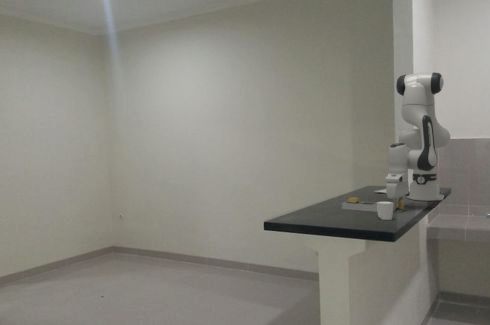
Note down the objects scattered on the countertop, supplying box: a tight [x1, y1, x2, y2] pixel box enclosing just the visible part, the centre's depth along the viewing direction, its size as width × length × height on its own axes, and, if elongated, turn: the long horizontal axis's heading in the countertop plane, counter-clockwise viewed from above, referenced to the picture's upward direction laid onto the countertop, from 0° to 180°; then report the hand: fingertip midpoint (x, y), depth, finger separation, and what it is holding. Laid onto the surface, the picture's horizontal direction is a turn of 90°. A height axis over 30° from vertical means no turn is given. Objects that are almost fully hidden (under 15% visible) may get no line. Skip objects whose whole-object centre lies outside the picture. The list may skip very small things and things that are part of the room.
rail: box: [341, 200, 397, 213], centre depth 193 cm, size 8×23×4 cm, turn 50°
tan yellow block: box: [392, 197, 405, 211], centre depth 194 cm, size 4×4×5 cm
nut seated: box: [347, 196, 360, 204], centre depth 197 cm, size 4×4×5 cm
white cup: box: [376, 201, 394, 221], centre depth 173 cm, size 7×7×7 cm
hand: (398, 205), depth 194 cm, fingers closed on tan yellow block, 4 cm apart
